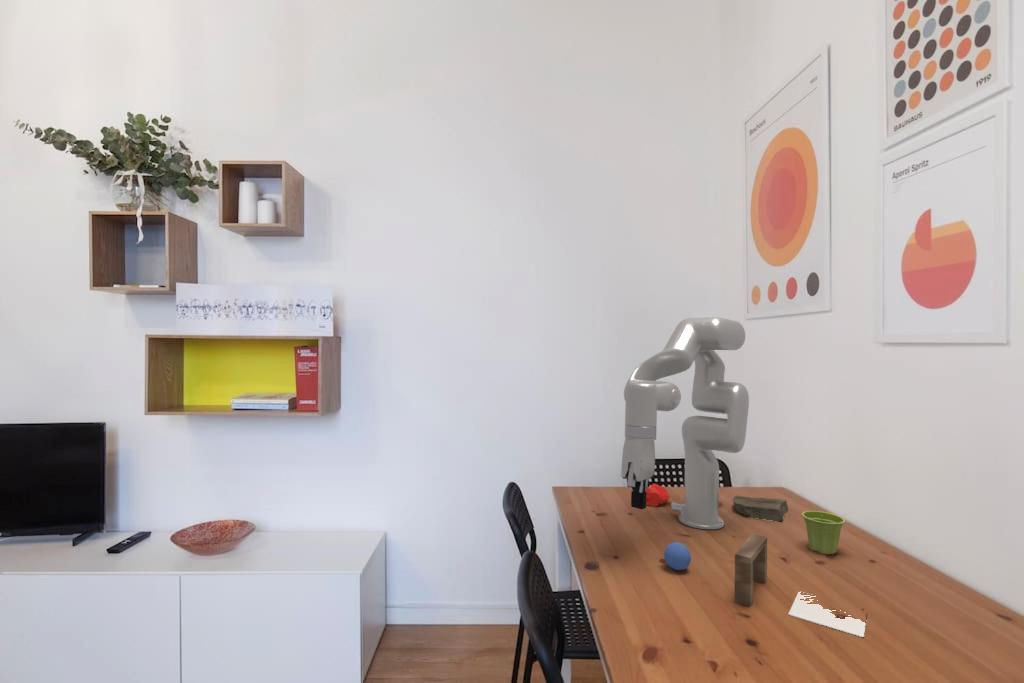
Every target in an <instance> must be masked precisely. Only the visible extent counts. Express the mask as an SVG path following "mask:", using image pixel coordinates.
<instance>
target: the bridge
mask: <svg viewBox="0 0 1024 683" xmlns="http://www.w3.org/2000/svg"><path fill="white" fill-rule="evenodd" d="M767 570H768V536H766V535H762V534H757V533H752V534H751V535H750V536H749V537H748V538H747V539H746V541H745V542H744V543H743V544H742V545H741V547H739V548H738V550H737V551H736V552H735V554H734V599H733V600H734V603H737V604H738V605H739V604H740V605H744V606H746V607H752V605H753V603H754V599H753V598H754V581H755V582H757V583H761V584H766V582H767V580H768V571H767Z"/></svg>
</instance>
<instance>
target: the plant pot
mask: <svg viewBox="0 0 1024 683" xmlns="http://www.w3.org/2000/svg"><path fill="white" fill-rule="evenodd" d="M801 515H802V517H803V520H804V522H805V527H806V533H807V534H806V535H807V540H808V548H809V549H810V550H811V551H814V552H818V553H819V554H821V553H822V555H829V554H832V555H834V554H837V553H838V552H837V551H838V546H839V541H840V535H841V530H842V528H843V527H844V526H843V525H844V524H845V522H846V520H845V519H844V518H843V517H841V516H839V515H837V514H834V513H831V512H826V511H820V510H819V511H818V510H806V511H803V512H802V513H801Z"/></svg>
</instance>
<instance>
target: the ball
mask: <svg viewBox="0 0 1024 683" xmlns="http://www.w3.org/2000/svg"><path fill="white" fill-rule="evenodd" d="M663 557H664V560H665V563H666V564H667V566H669V567H670V568H671V569H673V570H676V571H682V570H683V571H684V570H685V569H687V568H688V567H689V566H690V564H691V562H692V554H691V552H690V550H689V548H688V547H687V546H686V545H685V544H683V543H682V542H677V541H675V542H670V543H669V544H667V545H666V547H665V549H664V551H663Z"/></svg>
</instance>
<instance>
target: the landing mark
mask: <svg viewBox="0 0 1024 683" xmlns="http://www.w3.org/2000/svg"><path fill="white" fill-rule="evenodd" d="M801 592H803V591H800V592H799V591H798V592H797V595H796V596H795V599H794V600H793V603H792V605H791V607H790V610H789V612H788V616H791V617H793V618H796V619H800V620H804V621H807V622H809V623H813V624H815V625H816V624H817V625H820V626H822V625H823V626H822V627H826V626H827V628H830V629H832V628H833V630H835V629H836V631H839V630H840V631H839V632H842V631H843V633H845V632H846V634H848V633H849V634H848V635H852V634H853V635H852V636H855V635H856V636H855V637H858V636H859V637H858V638H861V637H864V638H865V634H864V633H865V632H866V627H865V626H867V622H866V623H865V622H862V621H861V620H860V619H854V618H852V617H845V619H840V618H835V617H836V616H835V615H834V614H832V613H830V612H832V611H836V610H832V611H831V610H829V609H823V607H822V606H821V605H819V604H807V603H810V602H813V601H812V600H814V599H809V600H810V601H804V600H805V599H806V598H811V597H816V596H817V595H815V596H810V595H801V594H800V593H801ZM803 593H805V592H803ZM804 596H810V597H804ZM800 599H804V600H800ZM817 601H818V600H817ZM840 611H841V610H840ZM844 613H846V612H844ZM848 616H851V615H848Z"/></svg>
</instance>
